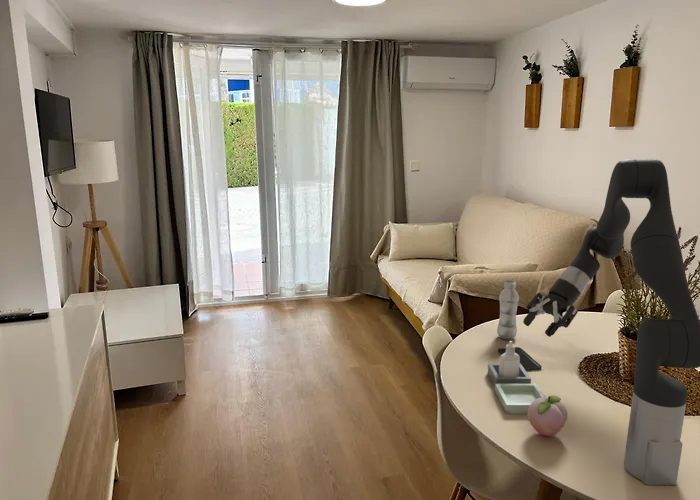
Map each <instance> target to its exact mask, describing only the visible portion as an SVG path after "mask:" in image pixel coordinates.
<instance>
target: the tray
mask: <svg viewBox="0 0 700 500" xmlns="http://www.w3.org/2000/svg"><path fill="white" fill-rule="evenodd" d="M494 393H495V396H496V397H497V399H498V401H499V403H500V404H501V407H502V409H503V411H504V412H505V414H506V415H528V408H529V406H530V405H531V403H532V402H533V401H534V400H536V399H538V398H541V397H546V396H545V395H544V393H543V391H542V390H541V388H540V387H539V386H538V383H531V384H495V386H494Z"/></svg>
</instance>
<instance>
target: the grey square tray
mask: <svg viewBox="0 0 700 500" xmlns="http://www.w3.org/2000/svg"><path fill="white" fill-rule="evenodd" d="M487 374H488V376H489V378H490V380H491V382H492V384H493V386H494V387H495V384H532V383H531V382H532V378H531V376H530V375H529V374H528V371H525V369H524V368H523V366H522V365H521V363H520V365H519V377H499V376H498V375H499V363H488V364H487Z"/></svg>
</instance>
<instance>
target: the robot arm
mask: <svg viewBox="0 0 700 500" xmlns="http://www.w3.org/2000/svg"><path fill="white" fill-rule="evenodd" d="M669 187H670V186H669V179H668V174H667V168H666V165H665V164H664V162H662V161H661V160H659V159H654V158H653V159H652V158H651V159H649V158H644V159H643V158H641V159H640V158H639V159H638V158H637V159H633V158H632V159H627V158H626V159H621V160H619V161H618V162H617V163H616V164H615V166H614V167H613V170H612V172H611V176H610V179H609V184H608V188H607V192H606V198H605V203H604V208H603V211H602V213H601V215H600V218H599V220H598V222H597V225H596V226H592V227H590V228H589V229H588V230H587V231H586V232H585V235H584V237H583V241H582V243H581V247H580V248H579V251H578V253H577V254H576V256H575V257H574V258H573V260H572V261H571V263H569V265H568V266H567V267H566V268H565V269H564V270H563V271H562V272H561V274H560V275H559V276H558V277H557V279H556V280H555V281H554V283H553V284H552V286H551V287H550V288H549V290H548V294H547V295H545V296H544V295H542V293H541V292H537V293H536V295H535V296H534V297H533V298H532V299H531V300H530V301H529V303H528V304H527V305H526V306H525V308H526V309H527V310H528V313H527V315H526V316H525V317H524V318H523V324H524V325H525V326H526V327H530V325H531V324H532V322H533V321H534V320H535V319H536V317H537V316H539V315H545V314H547V315H551V316H552V317H553V321H551V323H550V324H549V326H547V328H546V330H545V331H544V334H545V335H546V336H547V337H549V338H551V336H553V335H555V333H556V332H557V331H558V329H559V328H561V327H562V328H563V327H564V328H565V329H566V328H568V327H570V324H571V323H572V321H573V320H574V319H575V317H576V316H577V314H578V313H579V311H578V310H577V308H576V307H575V306H574V304H575V303H576V301H578V299H579V297H580V296H581V295H582V294H583V292H584V291H585V290H586V289H587V287H588V284H589V283H590V281H591V280H592V279H593V278H594V276H595V275H596V274H597V273H598V271H599V270H600V268H601V263H600V262H599V260H598V259H597V258H595V256H594V255H593V254H592V253H591V251H592V252H594V253H596V254H598V255H599V256H601V257H603V258H604V259H607V260H611V259H615V258H616V257H618V256H619V255H620V254H621V252H623V251H622V250H623V248H624V244H625V242H624V241H625V235H624V234H625V231H626V230H627V228H628V226H629V224H630V221H631V212H630V210H629V207H628V206H627V204H626V203H625V201H624V200H623V198H626V199H647V200H649V210H648V211H647V214H646V215H645V217H644V218H643V219H642V221H640V224H639V225H638V226H637V227H636V229H635V231H634V232H633V234H632V236H631V240H630V251H631V252H630V253H631V257H632V263H633V268H634V270H635V271H636V273H637V275H638V276H639V279H641V280H642V281H643V282H644V283H645V284H646V286H648V287H649V288H650V290H651V291H653V292H654V294H655V295H656V296H657V297H658V298H659V299H661V301H662V303H663V304H664V306H665V307H666V309H667V311H668V312H669V316H670V317H671V319H669V318H653V317H652V318H649V317H647V318H644V319H643V320H642V321H641V322H640V324H639V326H638V329H637V337H636V348H635V349H636V351H635V365H634V373H633V375H634V378H633V379H634V380H633V383H634V384H633V391H632V396H631V397H632V399H631V405H630V413H629V420H628V421H629V422H628V428H627V436H626V443H625V453H624V460H623V466H624V468H625V470H626V471H627V472H628V473H629V474H630V475H631V476H632V477H634V478H636V479H638V480H640V481H641V482H643V484H644V485H647V486H652V485H653V486H657V485H658V486H660V485H661V486H666V485H667V486H668V485H669V486H676V485H677V481H678V475H679V470H680V464H681V463H680V462H681V457H682V452H683V442H682V441H681V439H682V438H681V437H682V432H683V424H684V420H685V412H686V407H687V399H688V394H689V393H688V389H687V386H686V385H685V384H684V383H683V382H681V381H680V380H679V379H676V378H675V377H673V376H671V375H667V374H666V373H663V372H662V371H661V372H660V371H659V370H660V369H659V368H660V367H667V368H678V369H679V368H680V369H698V368H700V318H699V316H698V313H697V310H696V307H695V306H696V305H695V304H694V301H693V298H692V294H691V291H690V287H689V283H688V279H687V274H686V269H685V264H684V259H683V253H682V248H681V244H680V240H679V237H678V232H677V229H676V225H675V221H674V216H673V212H672V204H671V197H670V196H671V195H670V188H669ZM621 246H622V247H623V248H622V247H621Z"/></svg>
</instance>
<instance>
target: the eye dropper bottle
mask: <svg viewBox="0 0 700 500" xmlns="http://www.w3.org/2000/svg"><path fill="white" fill-rule="evenodd" d="M508 341H509V342H508V343H507V344H506V345H505V348H506V352H505V353H504V354H502V355H501V354H500V356H499V361H498V364H499V375H498V376H499V377H519V365H520V356H519V355H518V354H517V353H515V347H516V346H515V345H514V344H513V341H512V340H508Z"/></svg>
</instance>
